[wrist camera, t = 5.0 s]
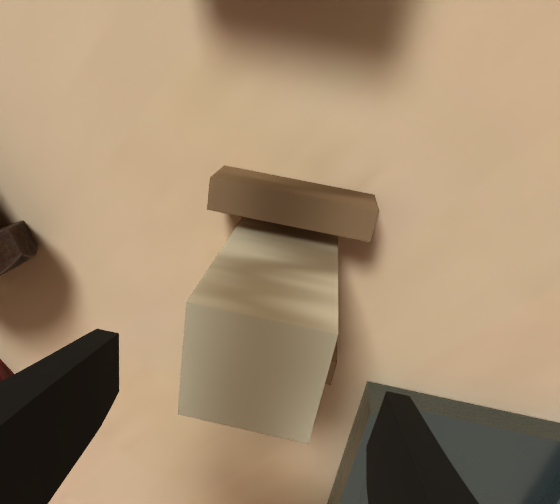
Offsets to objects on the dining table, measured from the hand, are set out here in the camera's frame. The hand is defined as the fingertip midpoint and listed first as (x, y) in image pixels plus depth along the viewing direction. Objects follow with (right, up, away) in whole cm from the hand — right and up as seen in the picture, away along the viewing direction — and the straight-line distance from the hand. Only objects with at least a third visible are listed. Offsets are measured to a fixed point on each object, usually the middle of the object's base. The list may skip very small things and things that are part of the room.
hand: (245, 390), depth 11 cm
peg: (+1, +3, +7) cm, 8 cm away
